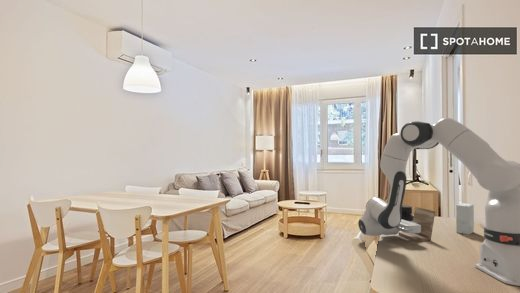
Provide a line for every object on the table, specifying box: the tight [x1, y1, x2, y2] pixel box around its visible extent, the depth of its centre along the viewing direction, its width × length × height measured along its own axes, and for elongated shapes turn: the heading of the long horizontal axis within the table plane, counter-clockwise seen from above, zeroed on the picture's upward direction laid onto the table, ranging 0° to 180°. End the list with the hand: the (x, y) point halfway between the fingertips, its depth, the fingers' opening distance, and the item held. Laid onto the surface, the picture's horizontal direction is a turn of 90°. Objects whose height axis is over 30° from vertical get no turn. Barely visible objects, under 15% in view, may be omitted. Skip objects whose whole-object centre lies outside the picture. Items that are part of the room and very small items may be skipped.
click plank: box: [413, 206, 436, 241], centre depth 153 cm, size 2×12×14 cm, turn 11°
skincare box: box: [455, 202, 475, 236], centre depth 161 cm, size 8×6×15 cm
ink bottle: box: [402, 204, 414, 222], centre depth 173 cm, size 10×9×12 cm
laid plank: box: [398, 231, 429, 243], centre depth 151 cm, size 7×12×2 cm, turn 12°
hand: (415, 223), depth 152 cm, fingers closed
